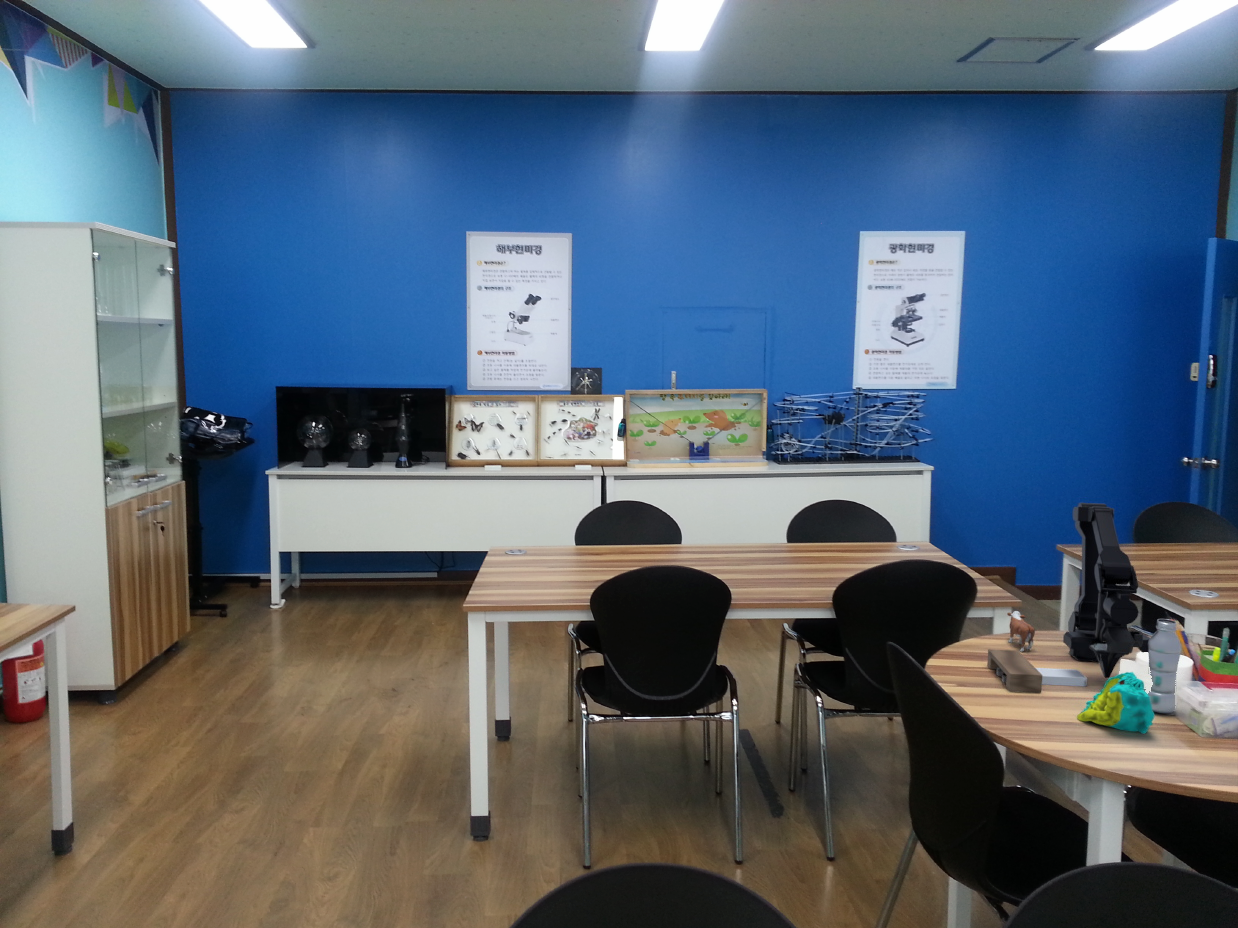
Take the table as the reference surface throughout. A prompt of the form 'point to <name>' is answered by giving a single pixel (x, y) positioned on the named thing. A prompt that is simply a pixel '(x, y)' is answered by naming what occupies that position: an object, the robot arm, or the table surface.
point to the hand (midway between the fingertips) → (1106, 677)
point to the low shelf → (1015, 671)
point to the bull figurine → (1021, 630)
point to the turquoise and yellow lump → (1121, 705)
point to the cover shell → (1062, 677)
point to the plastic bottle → (1163, 665)
